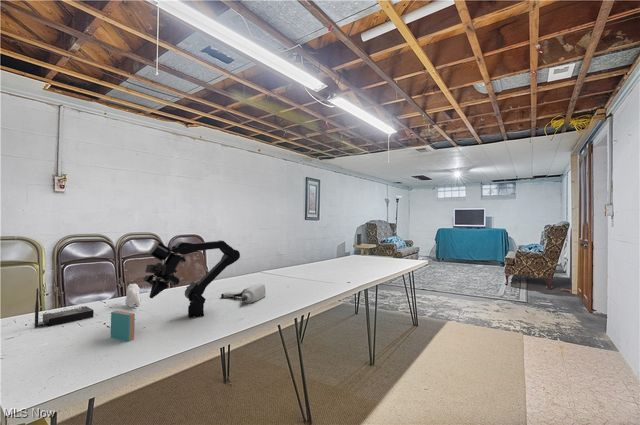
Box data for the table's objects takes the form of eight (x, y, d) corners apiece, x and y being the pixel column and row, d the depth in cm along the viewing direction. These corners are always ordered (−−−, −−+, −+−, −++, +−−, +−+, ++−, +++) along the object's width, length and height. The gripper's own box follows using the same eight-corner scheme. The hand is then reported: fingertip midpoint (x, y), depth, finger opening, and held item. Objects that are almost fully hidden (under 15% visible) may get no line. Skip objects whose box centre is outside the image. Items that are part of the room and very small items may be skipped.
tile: (116, 335, 120) (117, 310, 121) (134, 339, 117) (134, 313, 117) (110, 337, 118) (111, 312, 118) (128, 341, 114) (128, 315, 115)
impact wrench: (207, 299, 166) (248, 290, 162) (227, 290, 189) (264, 282, 184) (210, 314, 166) (251, 305, 161) (230, 302, 188) (267, 295, 183)
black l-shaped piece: (84, 313, 150) (85, 278, 150) (94, 319, 141) (95, 282, 142) (29, 324, 134) (30, 285, 134) (37, 331, 125) (38, 290, 126)
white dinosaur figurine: (135, 299, 172) (136, 279, 171) (147, 313, 155) (148, 291, 154) (121, 301, 167) (122, 281, 166) (132, 315, 150) (133, 293, 149)
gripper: (144, 258, 138) (122, 289, 129) (168, 255, 129) (147, 288, 119) (163, 270, 145) (144, 300, 136) (187, 268, 136) (169, 301, 126)
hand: (150, 297), depth 129 cm, fingers closed
